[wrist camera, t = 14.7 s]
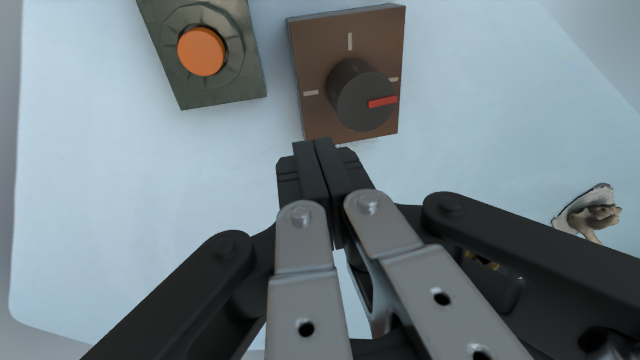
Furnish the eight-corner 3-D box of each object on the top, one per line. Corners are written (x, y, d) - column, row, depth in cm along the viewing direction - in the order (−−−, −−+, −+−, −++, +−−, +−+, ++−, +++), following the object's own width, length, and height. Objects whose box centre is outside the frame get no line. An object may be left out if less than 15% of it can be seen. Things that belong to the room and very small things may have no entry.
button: (175, 30, 22) (169, 33, 20) (218, 24, 22) (215, 27, 20) (190, 73, 24) (186, 79, 22) (230, 67, 24) (228, 73, 22)
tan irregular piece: (552, 236, 55) (581, 262, 51) (550, 209, 48) (584, 236, 43) (603, 206, 53) (638, 230, 49) (610, 173, 46) (651, 198, 41)
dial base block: (285, 18, 26) (288, 22, 23) (392, 2, 26) (406, 5, 24) (303, 137, 33) (307, 150, 30) (387, 122, 34) (398, 134, 31)
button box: (137, -21, 22) (117, -21, 19) (239, -34, 23) (237, -36, 20) (185, 102, 28) (176, 118, 25) (266, 89, 29) (267, 103, 26)
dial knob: (329, 116, 28) (341, 139, 24) (321, 64, 26) (333, 81, 21) (377, 105, 29) (398, 126, 25) (375, 52, 26) (397, 67, 22)
